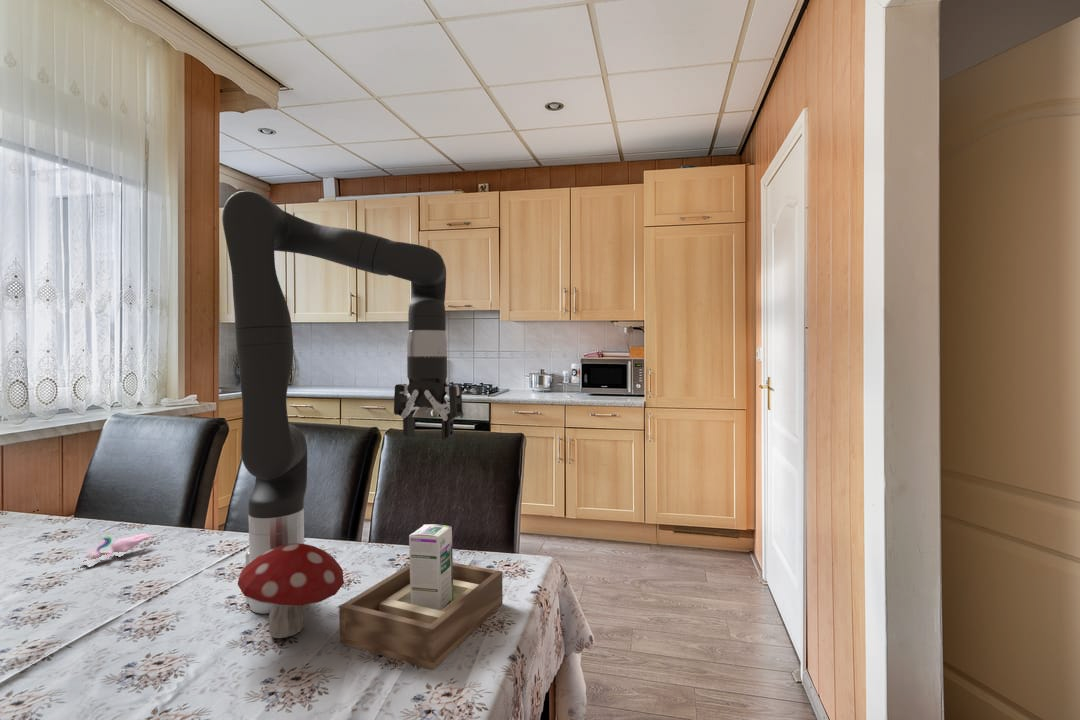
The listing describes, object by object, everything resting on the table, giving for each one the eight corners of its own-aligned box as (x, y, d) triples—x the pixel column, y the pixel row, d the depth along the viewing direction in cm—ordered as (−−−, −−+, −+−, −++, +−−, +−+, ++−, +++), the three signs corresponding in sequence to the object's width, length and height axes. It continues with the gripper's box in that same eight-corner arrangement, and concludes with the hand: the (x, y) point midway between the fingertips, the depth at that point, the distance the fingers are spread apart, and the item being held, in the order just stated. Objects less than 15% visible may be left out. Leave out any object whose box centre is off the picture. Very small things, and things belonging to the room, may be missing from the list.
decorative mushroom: (333, 602, 98) (332, 522, 98) (355, 641, 85) (354, 549, 84) (234, 627, 89) (233, 540, 89) (242, 675, 76) (241, 572, 76)
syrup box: (440, 620, 89) (440, 536, 89) (409, 616, 90) (408, 533, 90) (454, 605, 95) (453, 525, 94) (423, 601, 96) (423, 522, 96)
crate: (339, 643, 84) (339, 606, 84) (422, 586, 104) (422, 556, 104) (433, 669, 77) (432, 629, 77) (502, 603, 97) (502, 571, 97)
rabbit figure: (85, 578, 112) (161, 544, 125) (78, 553, 111) (156, 521, 124) (71, 573, 115) (147, 540, 128) (65, 547, 114) (142, 517, 127)
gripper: (469, 354, 101) (469, 438, 101) (409, 354, 107) (409, 433, 107) (447, 354, 94) (448, 444, 94) (384, 354, 100) (385, 439, 100)
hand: (427, 438), depth 101 cm, fingers open, 8 cm apart
